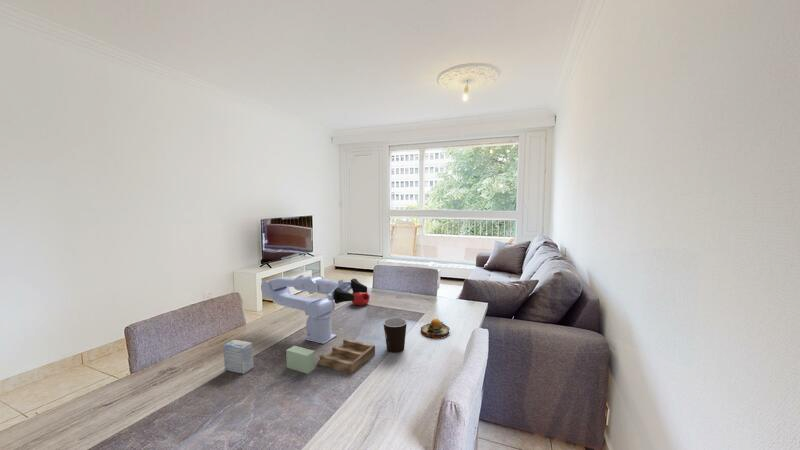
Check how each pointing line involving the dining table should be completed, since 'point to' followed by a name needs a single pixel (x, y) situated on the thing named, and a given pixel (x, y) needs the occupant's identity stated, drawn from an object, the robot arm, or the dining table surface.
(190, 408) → the dining table surface
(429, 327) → the burger
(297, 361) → the pale green block
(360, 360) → the wooden compartment tray
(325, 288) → the robot arm
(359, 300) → the pomegranate
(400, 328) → the coffee mug
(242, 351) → the medicine box
